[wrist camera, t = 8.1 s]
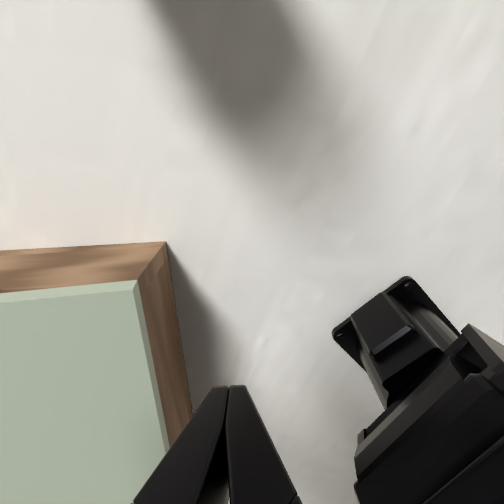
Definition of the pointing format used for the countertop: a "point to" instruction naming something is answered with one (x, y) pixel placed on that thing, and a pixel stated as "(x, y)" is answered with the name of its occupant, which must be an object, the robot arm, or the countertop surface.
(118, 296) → the lid
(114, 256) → the walnut box
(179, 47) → the countertop surface
